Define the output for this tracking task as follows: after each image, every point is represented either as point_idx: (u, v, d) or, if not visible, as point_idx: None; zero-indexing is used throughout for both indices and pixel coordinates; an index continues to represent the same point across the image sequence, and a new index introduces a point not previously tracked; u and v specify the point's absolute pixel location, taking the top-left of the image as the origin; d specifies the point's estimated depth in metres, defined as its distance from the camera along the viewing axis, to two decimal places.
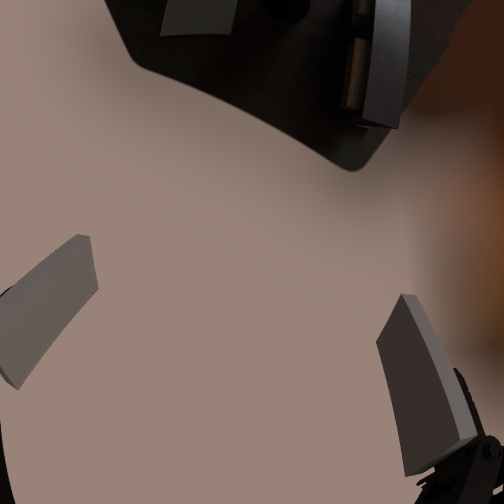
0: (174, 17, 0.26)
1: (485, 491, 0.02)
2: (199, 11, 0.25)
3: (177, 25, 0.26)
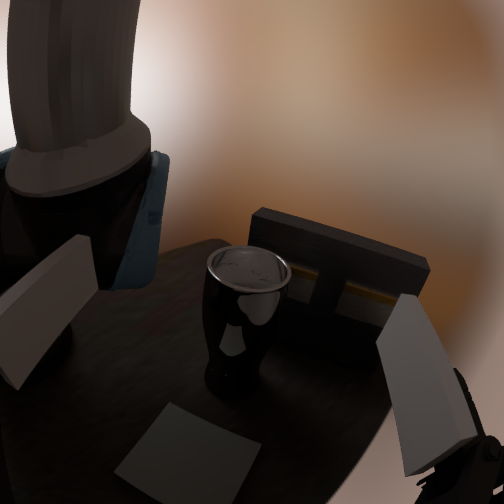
0: (191, 500, 0.15)
1: (485, 491, 0.02)
2: (201, 467, 0.18)
3: (212, 501, 0.15)
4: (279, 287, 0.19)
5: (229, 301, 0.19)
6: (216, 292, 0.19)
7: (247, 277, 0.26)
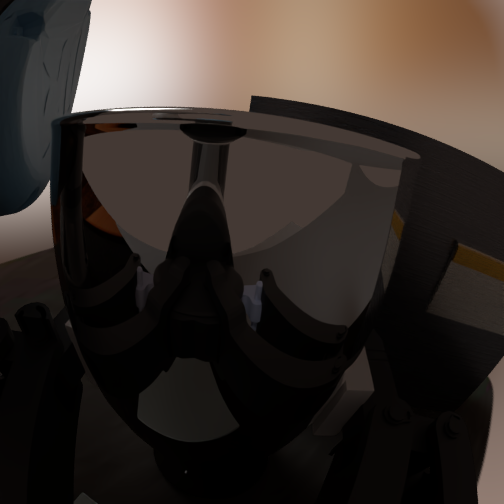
0: None
1: (397, 461, 0.04)
2: None
3: None
4: (414, 154, 0.03)
5: (88, 240, 0.02)
6: (52, 201, 0.03)
7: None
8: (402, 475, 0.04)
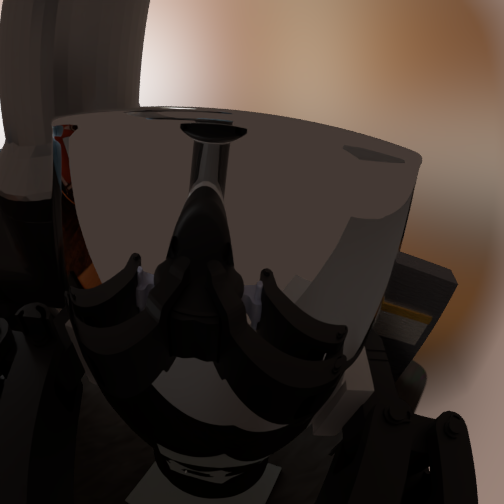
0: None
1: (397, 461, 0.04)
2: None
3: None
4: (415, 154, 0.03)
5: (89, 240, 0.02)
6: (53, 200, 0.03)
7: None
8: (402, 475, 0.04)
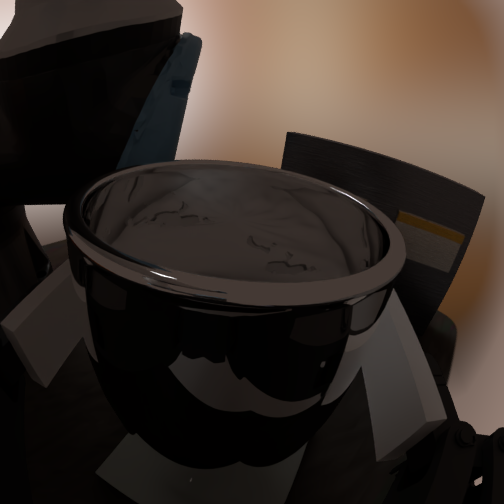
0: None
1: (460, 480, 0.03)
2: None
3: None
4: (395, 272, 0.03)
5: (123, 350, 0.03)
6: (78, 297, 0.03)
7: (237, 257, 0.10)
8: (461, 493, 0.03)
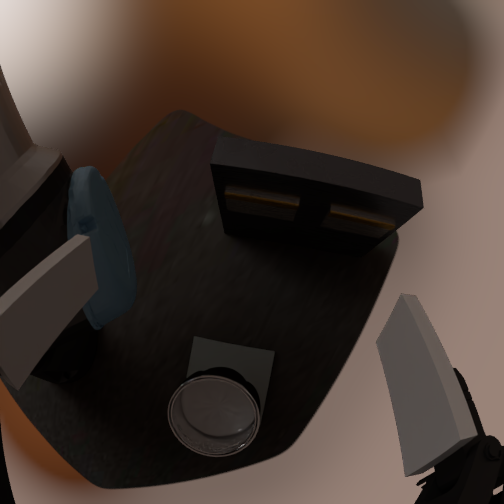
0: None
1: (485, 491, 0.02)
2: None
3: None
4: None
5: None
6: None
7: None
8: None
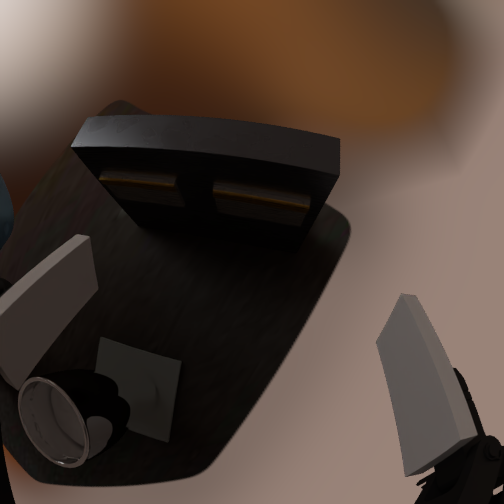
0: (144, 422, 0.24)
1: (485, 491, 0.02)
2: None
3: (157, 420, 0.24)
4: (83, 461, 0.10)
5: None
6: None
7: (67, 372, 0.15)
8: None
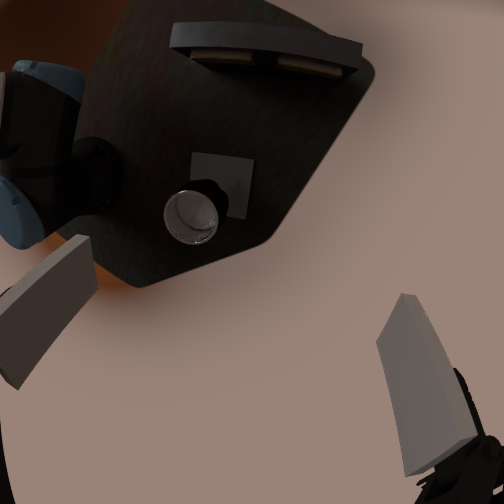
0: None
1: (485, 491, 0.02)
2: None
3: (238, 204, 0.45)
4: (213, 234, 0.31)
5: None
6: None
7: None
8: None
